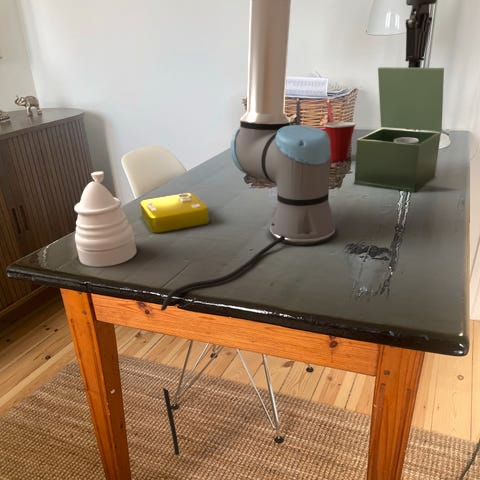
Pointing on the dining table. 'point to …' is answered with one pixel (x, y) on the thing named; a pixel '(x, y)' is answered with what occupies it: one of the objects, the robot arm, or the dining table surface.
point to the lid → (411, 98)
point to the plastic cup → (339, 139)
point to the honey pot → (102, 227)
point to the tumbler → (407, 140)
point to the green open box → (396, 159)
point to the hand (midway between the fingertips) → (411, 87)
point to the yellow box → (174, 212)
